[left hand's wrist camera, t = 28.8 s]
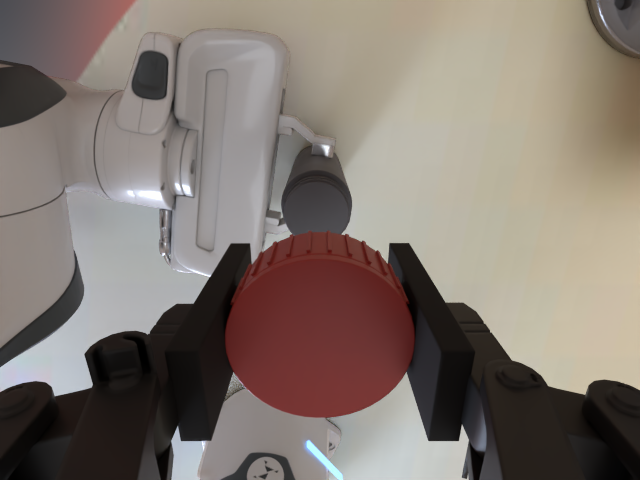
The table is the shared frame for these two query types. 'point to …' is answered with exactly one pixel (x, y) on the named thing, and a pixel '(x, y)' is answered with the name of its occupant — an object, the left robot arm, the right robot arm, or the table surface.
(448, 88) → the table surface
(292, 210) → the jar
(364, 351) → the lid
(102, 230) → the table surface
